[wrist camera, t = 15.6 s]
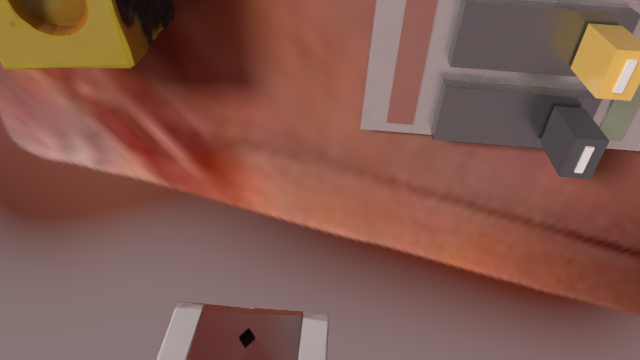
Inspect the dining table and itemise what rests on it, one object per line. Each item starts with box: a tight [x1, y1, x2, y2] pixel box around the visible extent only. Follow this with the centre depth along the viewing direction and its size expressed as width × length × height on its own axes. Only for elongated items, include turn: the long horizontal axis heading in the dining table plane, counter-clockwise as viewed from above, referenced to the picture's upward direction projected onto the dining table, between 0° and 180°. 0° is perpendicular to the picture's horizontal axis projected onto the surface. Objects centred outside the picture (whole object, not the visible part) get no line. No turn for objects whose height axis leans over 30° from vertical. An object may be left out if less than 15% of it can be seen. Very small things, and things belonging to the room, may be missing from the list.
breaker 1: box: [571, 23, 640, 101], centre depth 35 cm, size 4×2×5 cm
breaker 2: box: [540, 106, 609, 179], centre depth 39 cm, size 4×2×5 cm
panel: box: [360, 0, 640, 151], centre depth 38 cm, size 20×26×3 cm
